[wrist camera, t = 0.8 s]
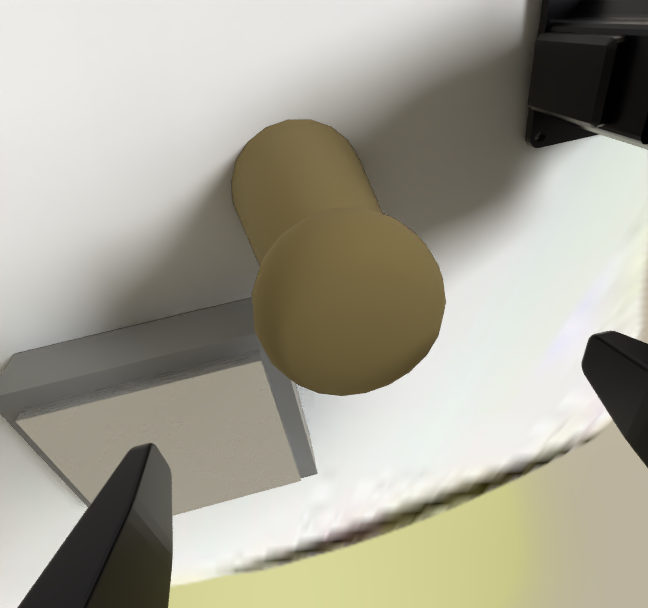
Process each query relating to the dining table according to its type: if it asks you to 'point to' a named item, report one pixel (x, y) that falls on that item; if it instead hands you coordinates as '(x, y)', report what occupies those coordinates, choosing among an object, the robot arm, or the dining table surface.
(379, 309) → the cork
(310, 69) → the dining table surface
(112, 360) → the kitchen scale
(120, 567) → the robot arm
